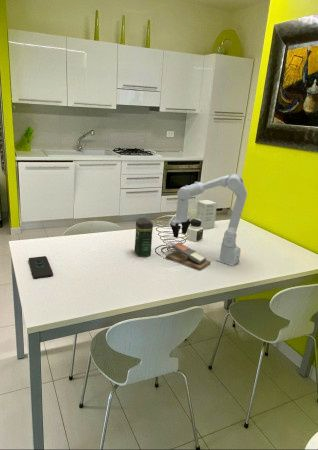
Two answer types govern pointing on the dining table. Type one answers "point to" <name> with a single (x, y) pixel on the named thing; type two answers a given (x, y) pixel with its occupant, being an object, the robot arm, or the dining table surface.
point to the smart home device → (40, 267)
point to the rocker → (189, 253)
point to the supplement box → (206, 213)
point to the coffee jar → (143, 237)
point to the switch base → (187, 260)
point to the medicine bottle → (195, 230)
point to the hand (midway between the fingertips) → (179, 235)
